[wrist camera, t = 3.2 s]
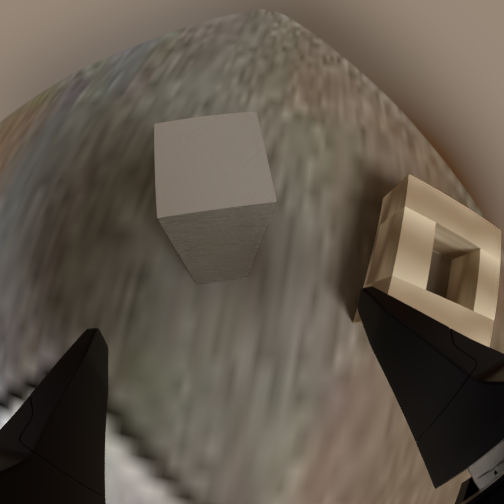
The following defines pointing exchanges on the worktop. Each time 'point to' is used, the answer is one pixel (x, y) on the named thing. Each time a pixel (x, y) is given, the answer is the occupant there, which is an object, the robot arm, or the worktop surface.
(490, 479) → the robot arm
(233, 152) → the square bit
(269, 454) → the worktop surface
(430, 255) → the socket block
